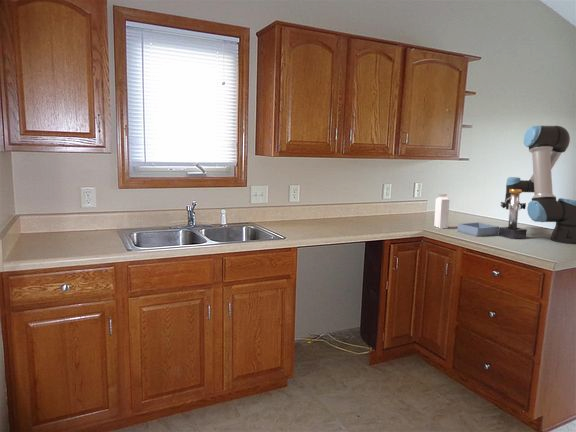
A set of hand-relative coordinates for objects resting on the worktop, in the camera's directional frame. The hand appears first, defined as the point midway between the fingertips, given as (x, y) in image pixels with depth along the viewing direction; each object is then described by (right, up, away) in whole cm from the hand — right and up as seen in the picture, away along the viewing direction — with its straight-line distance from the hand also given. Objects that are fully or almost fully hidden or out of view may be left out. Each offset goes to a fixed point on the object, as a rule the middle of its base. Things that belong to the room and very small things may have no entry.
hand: (514, 207), depth 237 cm
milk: (-29, -13, +35) cm, 47 cm away
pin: (+2, -13, +7) cm, 15 cm away
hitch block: (+2, -17, +7) cm, 18 cm away
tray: (-13, -15, +17) cm, 26 cm away
